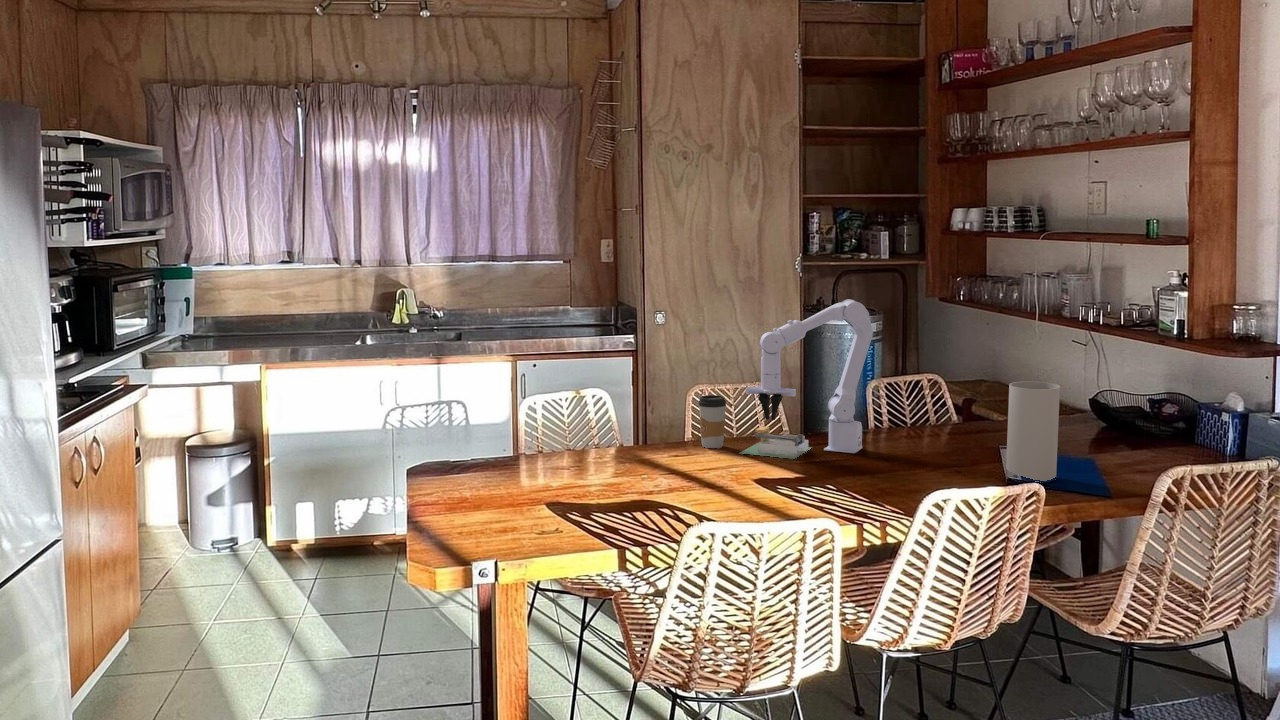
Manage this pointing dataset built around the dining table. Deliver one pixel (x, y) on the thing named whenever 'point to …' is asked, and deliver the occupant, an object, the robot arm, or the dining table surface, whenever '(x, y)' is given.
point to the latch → (762, 431)
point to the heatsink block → (784, 446)
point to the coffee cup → (712, 420)
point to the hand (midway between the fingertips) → (770, 419)
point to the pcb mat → (754, 451)
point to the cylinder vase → (1033, 429)
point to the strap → (774, 436)
